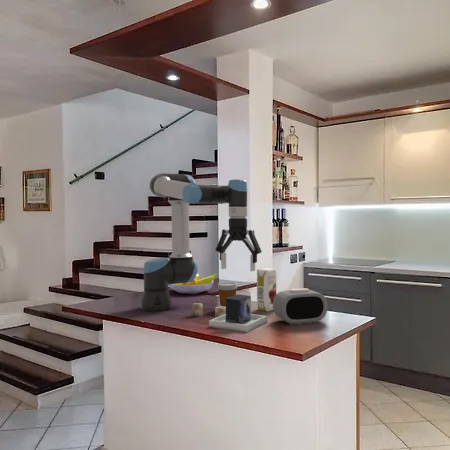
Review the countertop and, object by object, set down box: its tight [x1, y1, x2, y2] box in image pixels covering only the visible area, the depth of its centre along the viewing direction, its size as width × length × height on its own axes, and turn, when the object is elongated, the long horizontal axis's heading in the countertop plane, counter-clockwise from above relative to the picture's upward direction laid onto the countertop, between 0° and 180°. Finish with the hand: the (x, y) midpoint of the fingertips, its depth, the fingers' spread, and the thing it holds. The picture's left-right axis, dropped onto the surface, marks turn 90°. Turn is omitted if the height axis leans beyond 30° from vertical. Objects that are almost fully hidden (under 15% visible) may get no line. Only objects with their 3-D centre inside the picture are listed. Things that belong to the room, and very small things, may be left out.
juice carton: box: [256, 267, 277, 312], centre depth 206 cm, size 8×9×19 cm
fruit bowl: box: [168, 273, 218, 295], centre depth 254 cm, size 28×27×11 cm
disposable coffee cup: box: [217, 282, 238, 306], centre depth 206 cm, size 10×10×12 cm
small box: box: [226, 293, 252, 324], centre depth 179 cm, size 11×6×10 cm, turn 150°
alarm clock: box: [272, 287, 328, 326], centre depth 182 cm, size 21×10×13 cm, turn 106°
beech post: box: [192, 302, 204, 317], centre depth 196 cm, size 4×4×5 cm
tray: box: [208, 313, 268, 333], centre depth 179 cm, size 17×18×2 cm
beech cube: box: [214, 305, 226, 318], centre depth 191 cm, size 4×4×4 cm
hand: (237, 269), depth 180 cm, fingers open, 13 cm apart
